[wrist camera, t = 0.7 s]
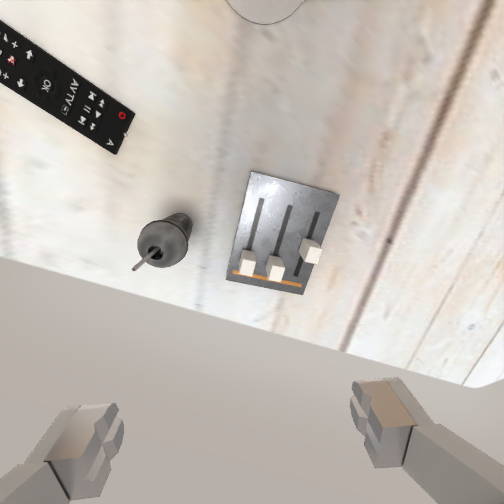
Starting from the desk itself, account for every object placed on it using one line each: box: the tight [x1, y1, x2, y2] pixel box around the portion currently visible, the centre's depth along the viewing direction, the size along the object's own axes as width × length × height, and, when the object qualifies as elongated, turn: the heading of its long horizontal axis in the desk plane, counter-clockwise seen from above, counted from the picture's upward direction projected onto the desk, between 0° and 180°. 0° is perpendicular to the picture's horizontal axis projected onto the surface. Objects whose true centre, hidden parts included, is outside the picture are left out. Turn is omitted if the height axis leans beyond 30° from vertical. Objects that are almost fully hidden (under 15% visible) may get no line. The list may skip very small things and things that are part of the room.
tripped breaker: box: [298, 238, 323, 264], centre depth 45 cm, size 3×2×5 cm
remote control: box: [0, 21, 135, 154], centre depth 37 cm, size 8×32×2 cm, turn 56°
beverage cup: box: [132, 213, 192, 271], centre depth 38 cm, size 7×7×20 cm
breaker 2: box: [265, 255, 285, 282], centre depth 46 cm, size 3×2×5 cm
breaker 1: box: [239, 249, 256, 276], centre depth 46 cm, size 3×2×5 cm
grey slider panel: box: [226, 171, 340, 295], centre depth 48 cm, size 22×17×2 cm
